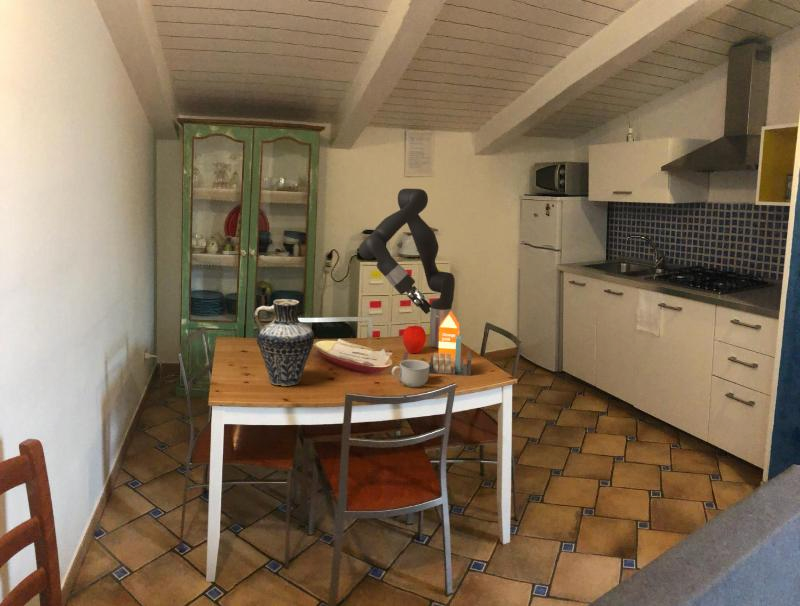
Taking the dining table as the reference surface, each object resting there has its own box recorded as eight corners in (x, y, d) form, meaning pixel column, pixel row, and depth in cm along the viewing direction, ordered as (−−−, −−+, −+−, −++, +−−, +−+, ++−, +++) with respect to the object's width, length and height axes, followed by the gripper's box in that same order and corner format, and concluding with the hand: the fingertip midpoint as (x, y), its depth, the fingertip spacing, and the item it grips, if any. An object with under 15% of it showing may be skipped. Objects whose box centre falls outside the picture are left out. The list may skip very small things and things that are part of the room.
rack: (401, 374, 253) (401, 356, 252) (404, 364, 267) (404, 347, 265) (470, 378, 251) (471, 360, 250) (469, 367, 265) (470, 350, 263)
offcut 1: (432, 372, 254) (433, 359, 253) (433, 365, 264) (434, 352, 263) (438, 372, 254) (438, 359, 253) (438, 365, 263) (439, 353, 263)
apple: (417, 357, 278) (418, 328, 276) (397, 353, 284) (398, 325, 281) (429, 352, 286) (430, 324, 284) (410, 348, 292) (411, 321, 290)
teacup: (424, 380, 247) (425, 359, 246) (432, 389, 237) (433, 367, 236) (387, 381, 244) (388, 360, 243) (393, 390, 234) (394, 368, 233)
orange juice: (458, 357, 279) (460, 310, 276) (456, 363, 271) (458, 315, 267) (439, 356, 280) (441, 309, 277) (437, 362, 272) (439, 313, 268)
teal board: (454, 371, 255) (456, 338, 253) (454, 367, 261) (456, 335, 259) (459, 372, 255) (461, 339, 253) (459, 367, 261) (461, 335, 258)
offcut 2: (438, 372, 254) (439, 359, 253) (439, 365, 263) (440, 353, 262) (444, 372, 253) (444, 360, 252) (444, 365, 263) (445, 353, 262)
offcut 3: (444, 372, 253) (445, 360, 253) (445, 365, 263) (446, 353, 262) (450, 373, 253) (450, 360, 252) (450, 365, 263) (451, 353, 262)
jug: (303, 372, 252) (303, 294, 246) (321, 387, 235) (322, 303, 229) (248, 379, 242) (247, 297, 237) (263, 395, 226) (262, 307, 220)
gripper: (405, 275, 246) (435, 307, 247) (408, 270, 260) (437, 300, 261) (391, 288, 247) (420, 320, 248) (394, 283, 261) (422, 313, 262)
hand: (429, 310), depth 255 cm, fingers open, 8 cm apart
